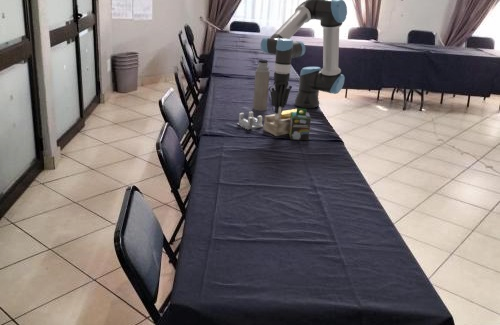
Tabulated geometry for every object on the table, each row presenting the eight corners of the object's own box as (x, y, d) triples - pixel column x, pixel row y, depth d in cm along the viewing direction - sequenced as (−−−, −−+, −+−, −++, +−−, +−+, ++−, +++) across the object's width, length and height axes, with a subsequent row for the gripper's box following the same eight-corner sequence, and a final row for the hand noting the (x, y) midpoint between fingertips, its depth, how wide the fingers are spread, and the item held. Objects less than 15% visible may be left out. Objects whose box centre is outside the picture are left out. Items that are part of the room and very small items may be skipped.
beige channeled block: (287, 125, 237) (288, 111, 234) (300, 131, 229) (301, 117, 226) (263, 129, 227) (264, 115, 224) (276, 135, 220) (277, 121, 217)
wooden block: (296, 117, 234) (297, 108, 233) (302, 119, 231) (303, 111, 229) (275, 120, 226) (276, 112, 225) (281, 123, 223) (282, 114, 221)
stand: (252, 122, 238) (253, 111, 235) (263, 127, 231) (263, 116, 229) (237, 124, 232) (237, 113, 230) (247, 130, 226) (248, 118, 223)
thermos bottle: (267, 107, 265) (271, 59, 254) (265, 111, 258) (269, 62, 247) (254, 106, 266) (257, 58, 255) (251, 109, 259) (255, 60, 248)
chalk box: (306, 134, 225) (310, 106, 220) (308, 140, 217) (312, 111, 211) (288, 133, 225) (291, 104, 219) (289, 139, 217) (293, 110, 211)
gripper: (287, 69, 221) (282, 115, 230) (266, 71, 213) (262, 119, 223) (297, 72, 216) (292, 119, 225) (276, 74, 208) (272, 123, 217)
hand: (277, 119), depth 224 cm, fingers closed
